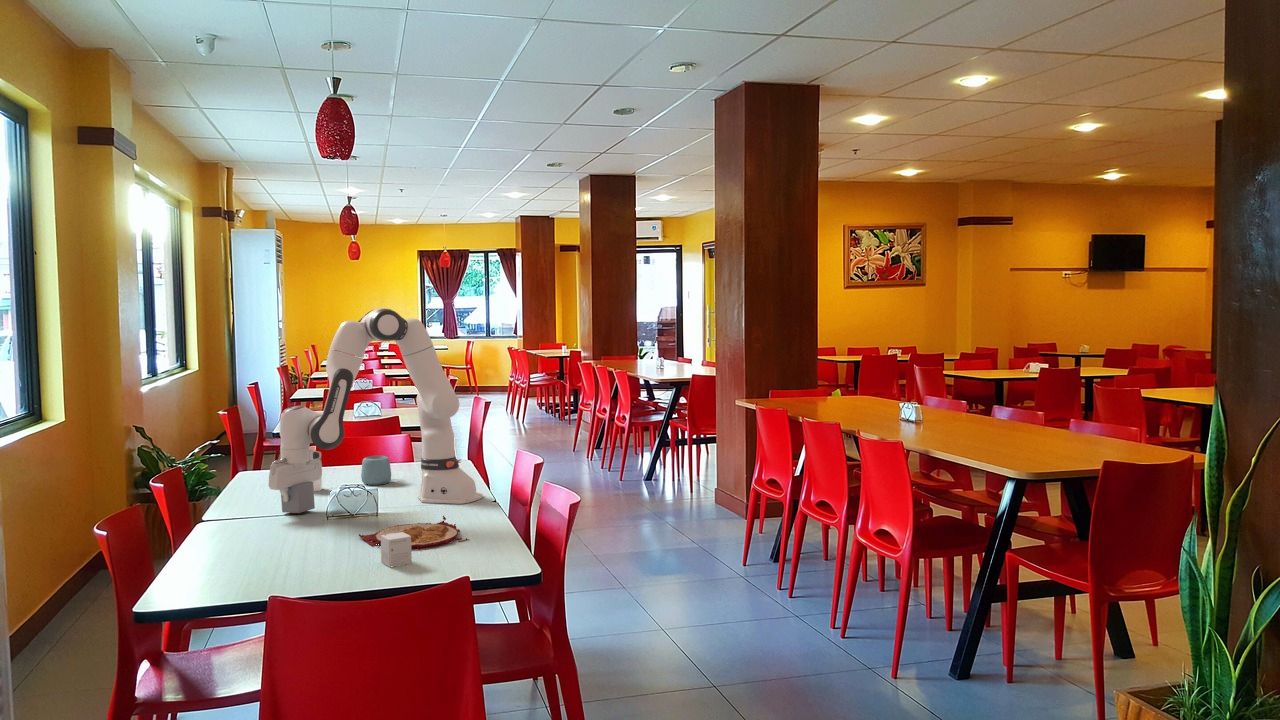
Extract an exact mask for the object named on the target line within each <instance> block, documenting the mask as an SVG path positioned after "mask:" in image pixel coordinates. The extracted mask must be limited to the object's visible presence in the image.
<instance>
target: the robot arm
mask: <svg viewBox="0 0 1280 720" xmlns="http://www.w3.org/2000/svg"><path fill="white" fill-rule="evenodd" d="M373 341H376V342H392V341H394V342H395V343H396V345H397V346H398V347H399V351H400V354H401V357H402V359H403V362H404V364H405V365H404V366H405V367H406V370H407V373H408V374H409V377H410V379H411V381H412V382H413V384H414V386H415V389H417V394H416V395H417V396H416V400H415V401H416V405H417V411H418V421H419V422H418V423H419V427H420V432H421V433H420V434H421V458H420V469H421V481H420V482H421V483H420V489H419V492H418V493H419V494H418V496H417V499H418V500H420V502H421V503H431V504H432V503H433V504H456V505H458V504H459V505H461V504H468V503H472V502H473V503H474V502H476V501H478V500H481V499H482V498H483V497H484V493H480V492H478V491H477V487H476V482H475V479H473V478H472V477H471V476H470V475H468V473H466V472H465V471H464V470H463V469H462V468H460V463H462V459H461V458H460V459H457V457H456V456H455V432H454V430H453V425H452V421H451V418H452V417H454V416H455V415H456V414H457V413H458V412H459V408H460V400H459V397H458V395H457V394H456V392H455V390H454V388H453V385H452V384H451V382H450V380H449V378H448V376H447V374H446V373H445V370H444V369H443V366H442V364H441V362H440V359H439V356H438V354H437V351H436V349H435V346H434V344H433V341H432V339H431V336H430V334H429V333H428V330H427V328H426V327H425V325H424V324H423V322H422V321H421V320H419V319H418V318H408V319H405V318H404V317H402V316H401V315H400V314H399V313H398V312H396V311H395V310H393V309H391V308H383V307H381V308H380V307H379V308H375V309H372V310H369V311H368V312H367V313H365V314H364V315H363V317H361V318H360V319H359V320H358V321H356V320H346V321H343V322H342V323H340V325H339V327H338V328H337V330H336V332H335V334H334V336H333V339H332V341H331V343H330V347H329V349H328V353H327V357H326V364H325V371H326V374H327V378H328V381H329V385H328V387H329V388H328V392H327V398H326V401H325V403H324V408H323V411H322V413H320V412H316V411H315V410H312V409H310V408H308V407H306V405H295V406H290V407H287V408H285V409H284V410H283V411H282V412H281V413H280V418H279V436H280V440H281V442H280V446H279V447H280V459H276V460H274V461H273V462H272V463H271V465H270V469H269V474H268V487H269V489H270V490H271V491H272V490H273V491H279V493H280V495H281V494H282V496H283V501H284V502H288V501H290V495H288V493H287V491H288V487H292V485H296V484H300V483H304V482H312V481H316V480H320V479H321V476H323V464H322V452H321V451H317V450H312V449H310V444H313V445H314V446H316V448H319V449H320V450H325V451H329V450H333V449H335V448H337V447H338V446H339V445H340V444H342V442H343V440H344V438H345V427H344V416H345V411H346V408H347V403H348V400H349V398H350V393H351V390H352V387H353V385H354V383H355V380H356V378H357V375H358V373H359V371H360V369H361V366H362V363H363V360H364V358H365V357H364V356H365V353H366V350H367V348H368V346H369V345H370V344H371V342H373ZM320 458H321V460H320Z"/></svg>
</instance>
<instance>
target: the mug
mask: <svg viewBox="0 0 1280 720" xmlns="http://www.w3.org/2000/svg"><path fill="white" fill-rule="evenodd" d="M361 463H362V464H361V473H360V475H361V476H360V478H361V482H362V483H363V484H365V485H367V484H368V486H380V485H385V484H388V483H389V482H390V481H391V480H392V469H391V461H390V457H388V456H385V455H371V456H366V457H364V458H363V459H362V462H361Z"/></svg>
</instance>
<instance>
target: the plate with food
mask: <svg viewBox="0 0 1280 720" xmlns="http://www.w3.org/2000/svg"><path fill="white" fill-rule="evenodd" d="M446 520H447V518H446V517H445V515H442V520H441V521H439V522H437V523H431V522H422V523H421V522H418V523H407V524H406V523H405V524H397V525H394V526H389V527H387V528H384V529H381V530H378V531H376V532H375V533H372V534H366V535H365V534H360V533H358V537H360V539H362V540H363V541H365V542H366V543H367V544H368V545H370V546H372V547H378V544H379V546H380V545H381V535H387V534H392V533H400V532H403V533H406V534H408V535H410V536H411V550H415V549H418V550H417V551H421V549H422V550H423V549H424V551H428V550H429V549H432V548H436V547H440V546H444V545H448V544H451V543H453V542H456V541H457V543H463V542H465V541H466V542H467V541H470V539H468V538H466V537H465V539H463V538H462V537H457V536H459V533H460V532H461V530H460V529H458V528H457V526H456V523H454V524H450V523H448V522H445V521H446ZM452 541H453V542H452ZM450 542H451V543H450ZM376 544H377V545H376Z"/></svg>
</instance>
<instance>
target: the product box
mask: <svg viewBox="0 0 1280 720" xmlns="http://www.w3.org/2000/svg"><path fill="white" fill-rule="evenodd" d="M411 550H412V549H411V536H410V535H408V534H406V533H403V532H400V533H392V534H387V535H381V548H380V551H381V552H380V563H382V564H383V563H384V564H383V565H385V566H386V565H387V566H386V567H388V566H389V567H388V568H390V567H391V566H396V567H400V566H399V565H402V566H405V564H408V565H411V564H412V563H413V562H412V559H413V557H412V555H413V553H412V551H411ZM391 568H392V567H391Z"/></svg>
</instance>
